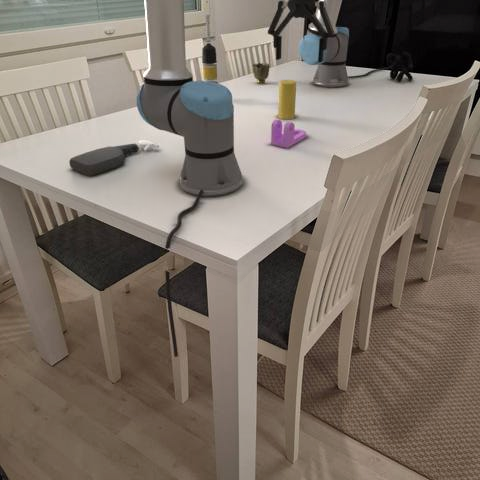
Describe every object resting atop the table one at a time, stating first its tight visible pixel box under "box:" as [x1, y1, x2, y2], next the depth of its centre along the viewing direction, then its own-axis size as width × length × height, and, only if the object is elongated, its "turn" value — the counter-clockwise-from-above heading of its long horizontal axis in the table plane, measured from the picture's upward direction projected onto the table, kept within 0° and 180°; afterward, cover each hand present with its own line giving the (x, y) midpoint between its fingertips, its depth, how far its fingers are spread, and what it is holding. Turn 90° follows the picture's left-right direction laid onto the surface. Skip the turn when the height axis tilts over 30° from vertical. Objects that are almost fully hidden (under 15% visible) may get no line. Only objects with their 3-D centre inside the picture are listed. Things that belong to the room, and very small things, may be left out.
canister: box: [277, 79, 297, 120], centre depth 153 cm, size 6×6×12 cm
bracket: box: [270, 119, 307, 149], centre depth 134 cm, size 13×6×7 cm, turn 143°
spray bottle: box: [68, 139, 160, 177], centre depth 124 cm, size 3×11×24 cm
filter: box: [201, 14, 219, 84], centre depth 171 cm, size 6×6×30 cm
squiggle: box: [385, 51, 414, 83], centre depth 198 cm, size 11×10×15 cm
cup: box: [252, 62, 271, 85], centre depth 198 cm, size 8×7×8 cm
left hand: (299, 60), depth 139 cm, fingers open, 13 cm apart
